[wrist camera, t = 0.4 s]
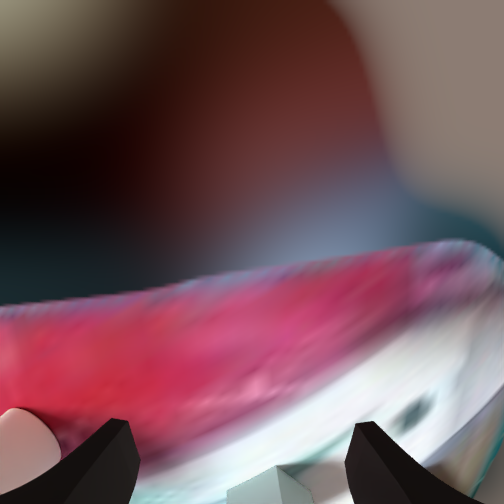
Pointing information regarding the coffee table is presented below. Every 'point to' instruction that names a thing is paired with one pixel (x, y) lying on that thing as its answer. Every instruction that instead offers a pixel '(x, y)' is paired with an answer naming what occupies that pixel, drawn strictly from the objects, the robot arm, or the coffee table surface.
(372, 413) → the coffee table surface
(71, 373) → the coffee table surface
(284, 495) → the teal cube
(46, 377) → the coffee table surface
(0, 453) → the can
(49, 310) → the coffee table surface
